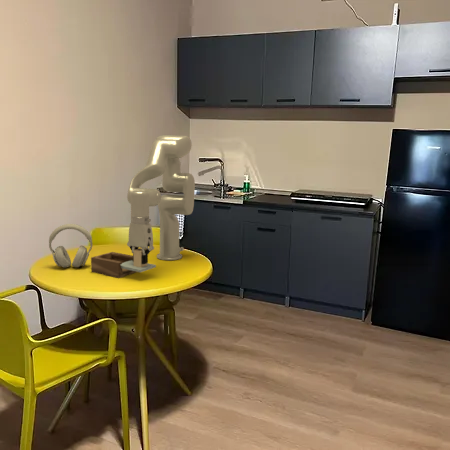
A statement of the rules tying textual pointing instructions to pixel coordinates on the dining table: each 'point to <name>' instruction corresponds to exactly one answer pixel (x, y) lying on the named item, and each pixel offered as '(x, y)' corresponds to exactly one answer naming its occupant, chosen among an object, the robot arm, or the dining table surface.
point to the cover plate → (131, 266)
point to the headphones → (61, 253)
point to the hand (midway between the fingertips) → (140, 262)
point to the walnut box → (111, 264)
